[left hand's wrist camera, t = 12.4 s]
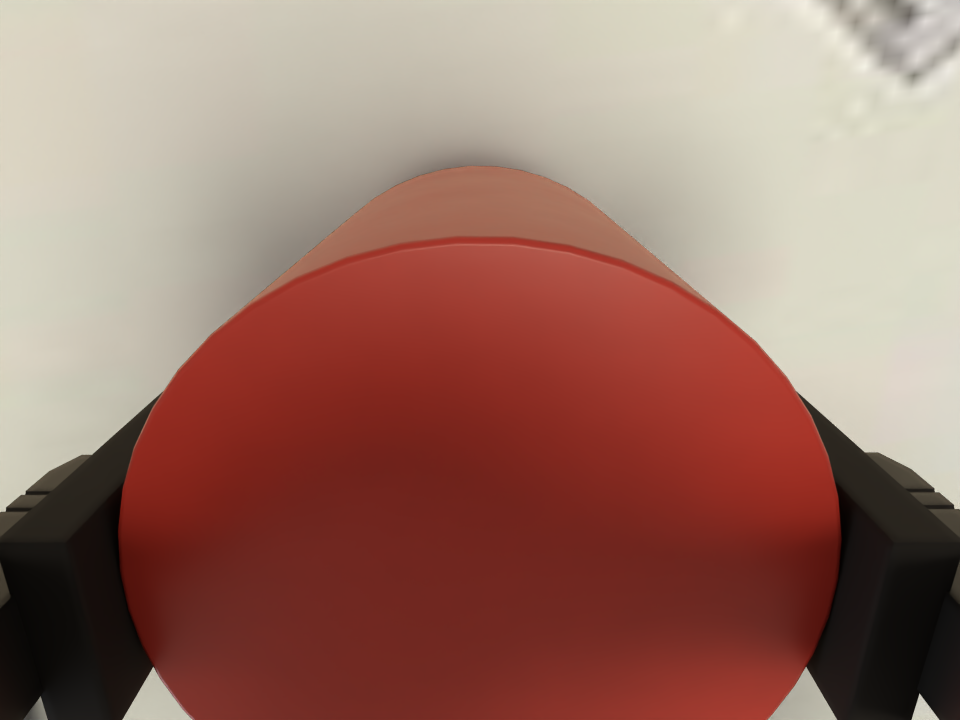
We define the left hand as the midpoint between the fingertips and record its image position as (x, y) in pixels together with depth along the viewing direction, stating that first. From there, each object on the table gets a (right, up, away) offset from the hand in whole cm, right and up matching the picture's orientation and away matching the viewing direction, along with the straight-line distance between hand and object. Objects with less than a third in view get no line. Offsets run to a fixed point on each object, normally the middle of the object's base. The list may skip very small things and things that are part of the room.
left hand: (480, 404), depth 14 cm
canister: (0, +1, +3) cm, 3 cm away
